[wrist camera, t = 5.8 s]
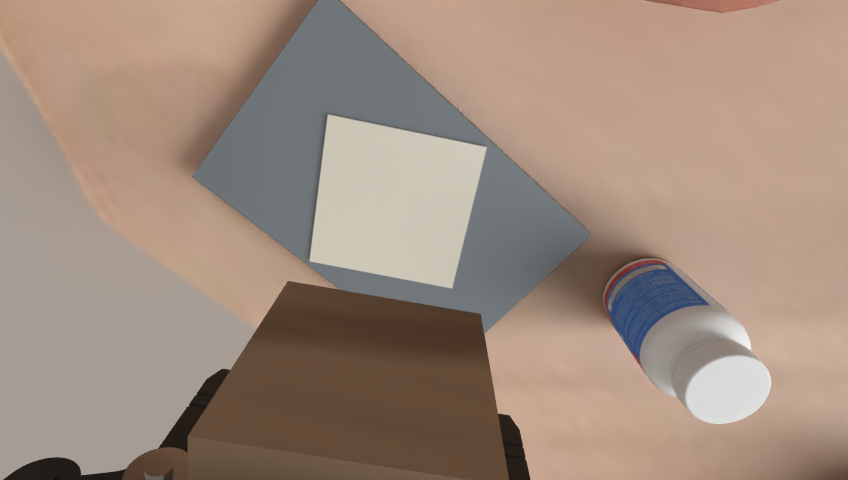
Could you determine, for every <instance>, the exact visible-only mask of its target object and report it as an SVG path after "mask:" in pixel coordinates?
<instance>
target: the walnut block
mask: <svg viewBox="0 0 848 480" xmlns="http://www.w3.org/2000/svg"><path fill="white" fill-rule="evenodd" d="M188 480H509V476H508V471H507V465H506V459H505V453H504V447H503V441H502V435H501V429H500V424H499V418H498V412H497V406H496V400H495V394H494V388H493V383H492V377H491V371H490V365H489V359H488V353H487V347H486V342H485V336H484V330H483V324H482V318H481V314H479V313H473V312H467V311H461V310H455V309H449V308H443V307H438V306H432V305H426V304H420V303H414V302H408V301H402V300H396V299H391V298H385V297H379V296H373V295H367V294H361V293H355V292H349V291H343V290H338V289H332V288H326V287H320V286H314V285H308V284H302V283H296V282H291V281H288V282H287V284H286V285H285V287H284V288H283V290H282V291H281V293H280V294H279V296H278V298H277V299H276V301H275V302H274V304H273V305H272V307H271V308H270V310H269V311H268V313H267V315H266V316H265V318H264V319H263V321H262V322H261V324H260V325H259V327H258V328H257V330H256V332H255V333H254V335H253V336H252V338H251V339H250V341H249V342H248V344H247V345H246V347H245V349H244V350H243V352H242V353H241V355H240V356H239V358H238V359H237V361H236V362H235V364H234V366H233V367H232V369H231V370H230V372H229V373H228V375H227V376H226V378H225V379H224V381H223V383H222V384H221V386H220V387H219V389H218V390H217V392H216V393H215V395H214V396H213V398H212V400H211V401H210V403H209V404H208V406H207V407H206V409H205V410H204V412H203V413H202V415H201V417H200V418H199V420H198V421H197V423H196V424H195V426H194V427H193V429H192V430H191V432H190V434H189V435H188Z"/></svg>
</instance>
